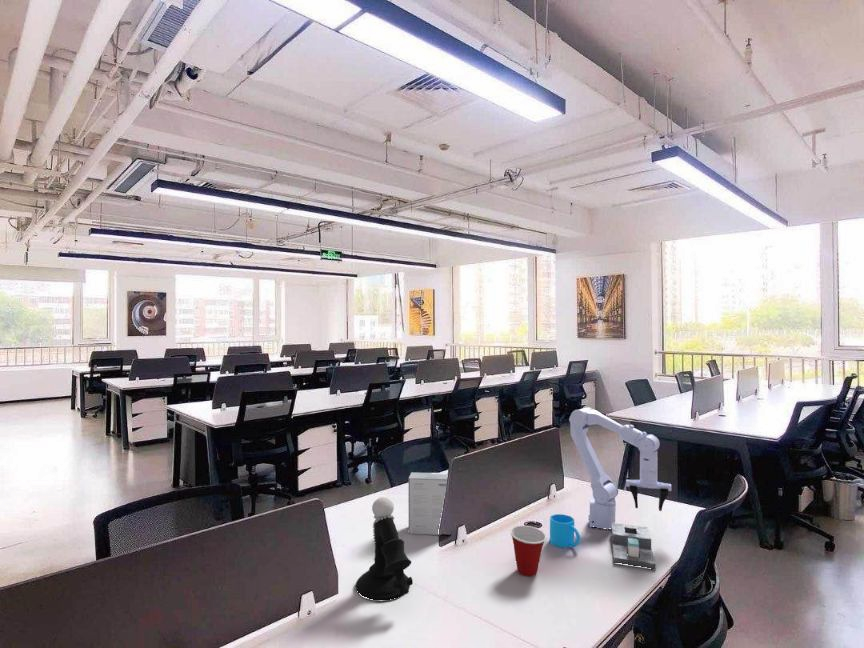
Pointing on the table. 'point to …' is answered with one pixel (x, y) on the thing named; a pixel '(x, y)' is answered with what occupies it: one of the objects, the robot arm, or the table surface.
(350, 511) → the table surface
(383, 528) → the sculpture
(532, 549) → the plastic cup
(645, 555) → the patch panel
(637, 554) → the plug
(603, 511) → the robot arm
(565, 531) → the mug
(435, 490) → the hard drive box
